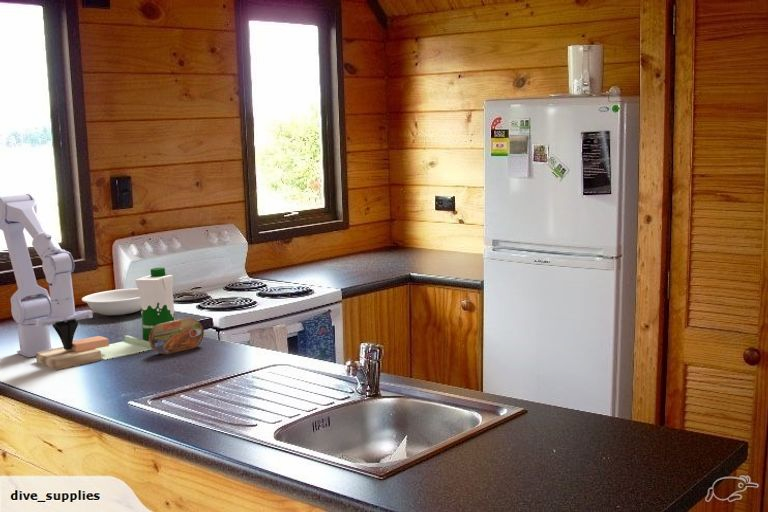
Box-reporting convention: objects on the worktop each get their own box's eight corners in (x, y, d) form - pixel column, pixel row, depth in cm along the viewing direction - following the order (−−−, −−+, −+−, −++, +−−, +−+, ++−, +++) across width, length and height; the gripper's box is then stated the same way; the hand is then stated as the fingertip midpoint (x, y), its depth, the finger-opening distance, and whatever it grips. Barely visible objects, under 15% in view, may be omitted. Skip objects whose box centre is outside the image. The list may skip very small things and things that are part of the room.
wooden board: (36, 361, 243) (35, 352, 243) (80, 352, 251) (79, 343, 250) (56, 370, 232) (55, 360, 232) (101, 360, 240) (100, 350, 240)
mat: (80, 351, 252) (79, 345, 252) (127, 341, 261) (127, 335, 261) (105, 360, 240) (104, 353, 239) (153, 349, 249) (153, 342, 248)
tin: (153, 357, 240) (150, 325, 239) (148, 355, 243) (145, 324, 241) (205, 346, 249) (202, 316, 248) (200, 344, 251) (197, 314, 250)
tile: (67, 348, 244) (67, 341, 244) (100, 342, 250) (99, 335, 250) (76, 352, 240) (75, 344, 239) (109, 346, 245) (108, 338, 245)
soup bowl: (173, 308, 307) (171, 289, 306) (118, 324, 287) (116, 303, 286) (124, 305, 320) (122, 286, 319) (68, 319, 300) (65, 299, 299)
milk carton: (181, 335, 264) (175, 267, 262) (163, 342, 256) (156, 272, 253) (156, 334, 268) (150, 267, 265) (137, 341, 259) (130, 272, 257)
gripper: (40, 305, 232) (46, 357, 234) (94, 295, 241) (100, 345, 243) (30, 302, 237) (36, 353, 239) (84, 292, 246) (89, 341, 248)
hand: (67, 349), depth 241 cm, fingers closed
